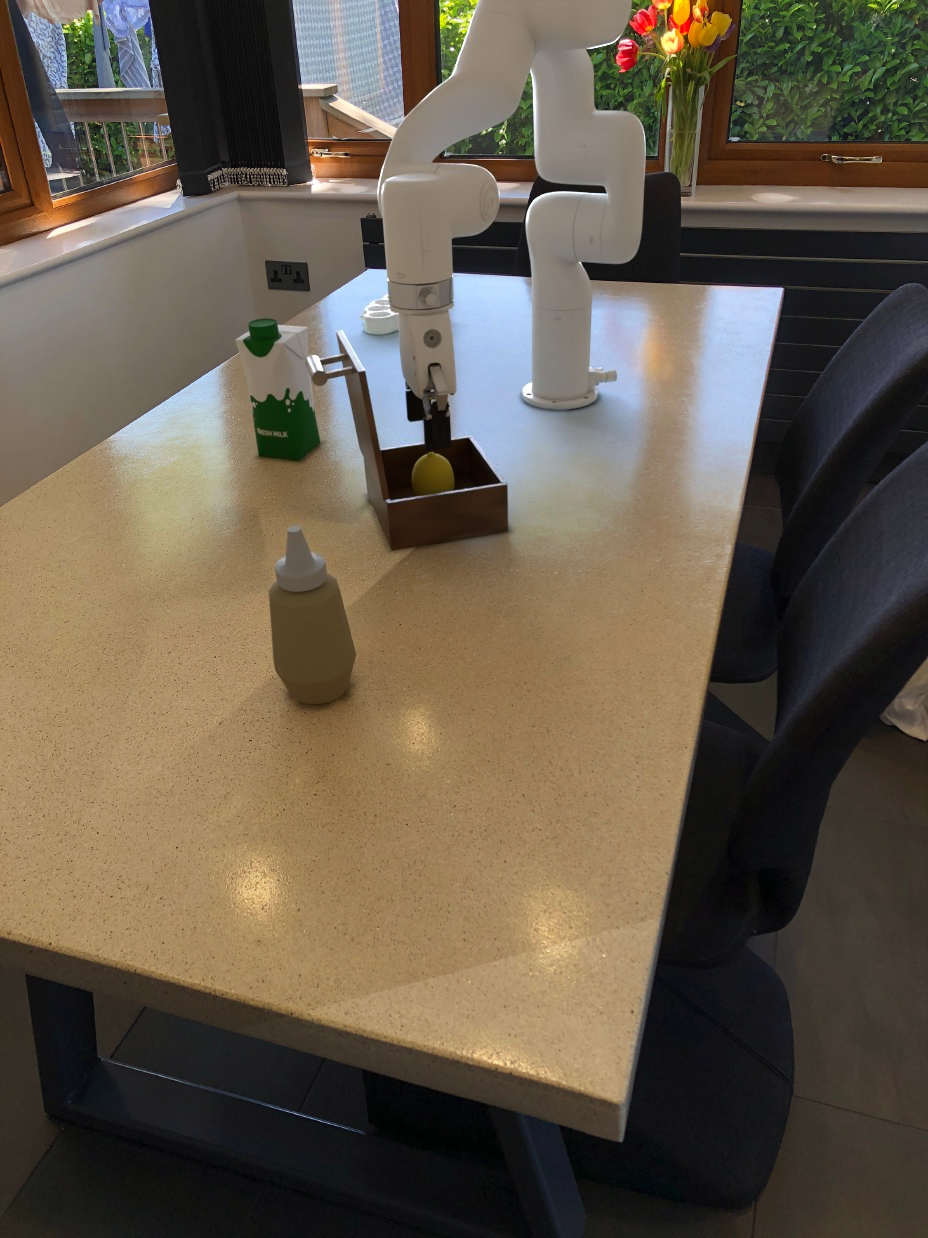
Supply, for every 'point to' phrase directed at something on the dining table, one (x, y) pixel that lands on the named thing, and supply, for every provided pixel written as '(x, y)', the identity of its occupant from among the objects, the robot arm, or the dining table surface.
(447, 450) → the box
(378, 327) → the white multi-hole holder
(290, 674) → the squeeze bottle
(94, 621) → the dining table surface
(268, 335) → the milk carton
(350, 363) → the lid
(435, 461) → the lemon
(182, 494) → the dining table surface
